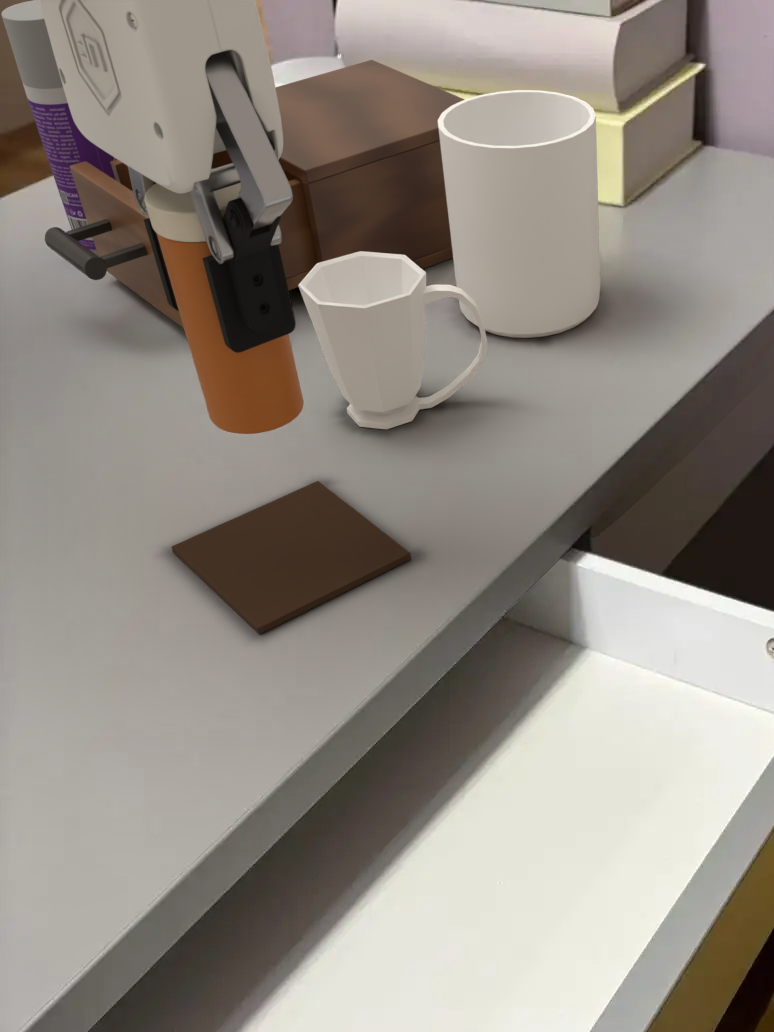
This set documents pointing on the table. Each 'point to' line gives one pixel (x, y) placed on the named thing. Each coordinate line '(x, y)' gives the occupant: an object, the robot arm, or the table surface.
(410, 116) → the cabinet
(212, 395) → the spice jar
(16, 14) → the container
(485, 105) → the mug
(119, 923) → the table surface
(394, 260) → the cup
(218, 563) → the coaster
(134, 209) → the drawer
